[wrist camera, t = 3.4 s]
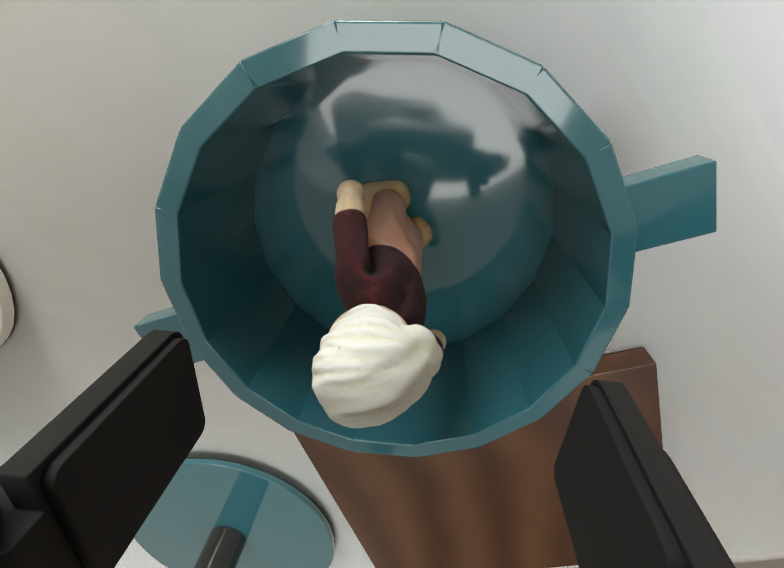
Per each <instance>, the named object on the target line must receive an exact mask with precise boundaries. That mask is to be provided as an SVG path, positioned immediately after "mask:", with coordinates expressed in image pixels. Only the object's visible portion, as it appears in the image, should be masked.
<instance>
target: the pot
mask: <svg viewBox="0 0 784 568" xmlns="http://www.w3.org/2000/svg"><path fill="white" fill-rule="evenodd" d="M346 180H355V181H358V182H359V183H361V184H364V183H367V182H374V181H385V180H400V181H402V182H403V183H405V184H406V185H407V187H408V189H409V192H410V197H411V200H410V204H409V206H408V207H407V208H406V213H407V215H408V216H409V217H410V218H414V217H420V218H423V219H425V220H426V221H427V222H428V224H429V225H430V226H431V228H432V231H433V238H432V240H431V242H430V243H429V244H428V245H426V246H425V247H424V248H423V254H422V269H421V278H422V282H423V285H424V289H425V295H426V298H427V309H426V319H425V323H424V326H425V327H426V328H428V329H429V330H430V329H436V330H439V331H441V332H442V333H443V334H444V336H445V338H446V346H445V348H444V356H443V360H442V362H441V366H440V369H439V371H438V372H437V373H436V374H435V375H434V376H433V377H432V380H431V383H430V384H429V387H428V389H427V390H426V391H425V393H424V394H423V395H422V397H421V398H420V399H419V400H418V401H416V402H415V403H414V404H412V405H411V406H410V407H409V408H408V409H407V410H406V411H405V412H403V413H401V414H400V415H398V416H397V417H396V418H394V419H393V420H391V421H389V422H387V423H384V424H382V425H379V426H372V427H365V428H349V427H345V426H342V425H340V424H338V423H336V422H334V421H333V420H331V419H330V418H329V417H328V415H327V413H326V412H325V410H324V408H323V407H322V405H321V404H320V403H319V401H318V399H317V397H316V395H315V393H314V390H313V388H312V379H313V375H312V363H313V358H314V356H315V355H316V354H318V352H319V350H320V342H321V339H322V337H323V336H325V335H327V334H328V333H329V331H330V329H331V327H332V325H333V324H334V322H335V321H336V320H337V319H338V318H339V317H340V316H341V315H342V314H344V313H345V312H346V309H345V307H344V305H343V303H342V301H341V299H340V297H339V295H338V292H337V289H336V282H335V245H334V238H333V230H332V224H333V218H334V216H335V208H336V203H337V201H338V199H337V189H338V187H339V186H340V184H341V183H342V182H344V181H346ZM155 217H156V228H157V240H158V252H159V263H160V275H161V281H162V284H163V286H164V288H165V290H166V292H167V295H168V297H169V299H170V301H171V303H172V306H173V307H172V308H169V309H165V310H162V311H159V312H155V313H152V314H148V315H147V316H145V317H144V318H143V319H142V320H141V321H140V322H138V323H137V324H136V325H135V326H134V328H135V330H136V331H137V332H138V334H139V335H140V337H141V338H144V337H145V336H146V335H147V334H148V333H149V332H151V331H152V330H155V329H158V330H167V331H175V332H180V333H181V334H182V335H183V338H184V339H187V340H188V341H189V344H190V349H191V354H192V359H193V363H194V362H198V361H202V360H204V361H205V362H206V363H207V364H208V365H209V366H210V367H211V369H212V370H213V371H214V372H215V373H216V374H217V375H218V376H219V378H220V379H221V380H222V381H223V382H224V383H225V384H226V385H227V386H228V388H229V389H230V390H231V391H232V392H233V393H234V394H235V395H236V396H237V397H238V398H240V399H241V400H243V401H244V402H246V403H248V404H249V405H251V406H252V407H254V408H255V409H257V410H258V411H260V412H262V413H263V414H265V415H266V416H268V417H269V418H271V419H272V420H274V421H275V422H277V423H279V424H280V425H282V426H283V427H285V428H286V429H288V430H289V431H292V432H295V433H298V434H301V435H304V436H306V437H309V438H312V439H315V440H318V441H321V442H324V443H327V444H330V445H333V446H336V447H339V448H342V449H345V450H348V451H353V452H360V453H372V454H384V455H396V456H407V457H422V456H428V455H434V454H440V453H447V452H453V451H459V450H465V449H471V448H477V447H480V446H483V445H485V444H487V443H489V442H492V441H494V440H496V439H498V438H500V437H503V436H505V435H507V434H509V433H511V432H514V431H516V430H518V429H520V428H522V427H524V426H527V425H529V424H531V423H533V422H535V421H538V420H540V418H542V417H544V416H545V415H546V414H547V413H548V412H549V411H550V410H552V409H553V408H554V407H555V406H556V405H557V404H558V403H559V402H561V401H562V400H563V399H564V398H565V397H566V396H567V395H568V394H569V393H571V392H572V391H573V390H574V389H575V388H576V387H577V386H578V385H580V384H581V383H582V382H583V381H584V380H585V379H586V378H587V377H589V376H590V375H591V374H592V372H593V371H594V370H595V368H596V366H597V364H598V363H599V361H600V359H601V357H602V355H603V353H604V352H605V350H606V348H607V346H608V344H609V343H610V341H611V339H612V337H613V335H614V333H615V332H616V330H617V328H618V326H619V324H620V323H621V321H622V319H623V317H624V315H625V313H626V312H627V308H629V302H630V294H631V285H632V277H633V268H634V259H635V252H637V251H641V250H645V249H649V248H653V247H657V246H661V245H665V244H669V243H673V242H677V241H681V240H685V239H689V238H693V237H697V236H701V235H705V234H709V233H713V232H716V161H715V160H712V159H709V158H706V157H703V156H700V155H696V156H693V157H690V158H686V159H683V160H679V161H676V162H672V163H669V164H665V165H662V166H659V167H655V168H652V169H648V170H645V171H641V172H638V173H634V174H631V175H628V176H624V177H622V175H621V172H620V169H619V165H618V162H617V159H616V156H615V153H614V149H613V146H612V144H611V143H610V140H609V139H608V137H607V136H606V135H605V134H604V133H603V132H602V131H601V130H600V128H599V127H598V126H597V125H596V124H595V123H594V122H593V121H592V120H591V118H590V117H589V116H588V115H587V114H586V113H585V112H584V111H583V109H582V108H581V107H580V106H579V105H578V104H577V103H576V102H575V100H574V99H573V98H572V97H571V96H570V95H569V94H568V93H567V92H566V90H565V89H564V88H563V87H562V86H561V85H560V84H559V83H558V81H557V80H556V79H555V78H554V77H553V76H552V75H551V74H550V72H549V71H548V70H547V69H546V68H544V67H543V66H542V65H541V64H539V63H536V62H534V61H532V60H530V59H527V58H525V57H523V56H521V55H519V54H516V53H514V52H512V51H510V50H507V49H505V48H503V47H501V46H499V45H496V44H494V43H492V42H490V41H488V40H485V39H483V38H481V37H479V36H476V35H474V34H472V33H470V32H468V31H465V30H463V29H461V28H459V27H456V26H454V25H452V24H450V23H448V22H444V23H443V22H442V21H393V20H337V21H330V22H328V23H326V24H324V25H321V26H319V27H317V28H314V29H312V30H310V31H307V32H305V33H303V34H300V35H298V36H296V37H294V38H291V39H289V40H287V41H284V42H282V43H280V44H277V45H275V46H273V47H271V48H268V49H266V50H264V51H261V52H259V53H257V54H254V55H252V56H250V57H248V58H245V59H243V60H242V61H241V62H239V63H238V64H237V65H236V67H235V68H234V69H233V70H232V71H231V72H230V73H229V74H228V76H227V77H226V78H225V79H224V80H223V81H222V82H221V83H220V84H219V86H218V87H217V88H216V89H215V90H214V91H213V92H212V93H211V94H210V96H209V97H208V98H207V99H206V100H205V101H204V102H203V103H202V105H201V106H200V107H199V108H198V109H197V110H196V111H195V112H194V113H193V115H192V116H191V117H190V118H189V119H188V120H187V121H186V122H185V123H184V125H183V126H182V127H181V130H180V131H179V134H178V137H177V140H176V143H175V146H174V149H173V153H172V156H171V159H170V162H169V165H168V168H167V171H166V175H165V178H164V181H163V184H162V187H161V190H160V194H159V197H158V200H157V203H156V207H155Z"/></svg>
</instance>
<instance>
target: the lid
mask: <svg viewBox="0 0 784 568" xmlns="http://www.w3.org/2000/svg"><path fill="white" fill-rule="evenodd" d="M134 538H135V539H136V541H137V542H138V543H139V544H140V545H141V546H142V548H143V549H145V550H146V551H147V552H148V553H149V554H150V555H151V556H152V557H154V558H155V559H156V560H157V561H159V562H160V563H162V564H163V565H165V566H166V567H168V568H329V566H330V564H331V561H332V559H333V554H334V546H335V544H334V536H333V533H332V530H331V527H330V525H329V523H328V521H327V519H326V518H325V516H324V515H323V514H322V512H321V511H320V510H319V508H318V507H317V506H316V505H315V504H314V503H313V502H312V501H311V500H310V499H308V498H307V497H306V496H305V495H304V494H302V493H301V492H300V491H298V490H297V489H295V488H294V487H292V486H291V485H289V484H288V483H286V482H284V481H282V480H280V479H278V478H277V477H274V476H272V475H270V474H268V473H265V472H263V471H260V470H258V469H255V468H252V467H249V466H245V465H241V464H237V463H233V462H228V461H222V460H215V459H185V460H184V462H183V463H182V465H181V466H180V468H179V469H178V471H177V473H176V474H175V476H174V477H173V479H172V480H171V482H170V483H169V485H168V486H167V488H166V489H165V491H164V492H163V494H162V496H161V497H160V499H159V500H158V502H157V503H156V505H155V506H154V508H153V509H152V511H151V512H150V514H149V515H148V517H147V518H146V520H145V522H144V523H143V525H142V526H141V528H140V529H139V531H138V532H137V534H136V535H135V537H134Z"/></svg>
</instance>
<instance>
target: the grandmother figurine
mask: <svg viewBox="0 0 784 568" xmlns="http://www.w3.org/2000/svg"><path fill="white" fill-rule="evenodd" d="M337 199H338V201H337V203H336V208H335V216H334V218H333V224H332V230H333V238H334V245H335V282H336V289H337V292H338V295H339V297H340V299H341V301H342V303H343V305H344V307H345V309H346V312H345V313H344V314H342V315H341V316H340V317H339V318H338V319H337V320H336V321H335V322H334V324H333V325H332V327H331V329H330V331H329V333H328V334H327V335H325V336H323V337H322V339H321V342H320V350H319V352H318V354H316V355H315V356H314V358H313V363H312V375H313V379H312V388H313V390H314V393H315V395H316V397H317V399H318V401H319V403H320V404H321V405H322V407H323V408H324V410H325V412H326V413H327V415H328V417H329V418H330V419H331V420H333V421H334V422H336V423H338V424H340V425H342V426H345V427H349V428H365V427H372V426H379V425H382V424H384V423H387V422H389V421H391V420H393V419H394V418H396V417H397V416H398V415H400V414H401V413H403V412H405V411H406V410H407V409H408V408H409V407H410V406H411V405H412V404H414V403H415V402H416V401H418V400H419V399H420V398H421V397H422V395H423V394H424V393H425V391H426V390H427V389H428V387H429V384H430V383H431V380H432V377H433V376H434V375H435V374H436V373H437V372H438V371H439V369H440V366H441V362H442V360H443V356H444V348H445V346H446V338H445V336H444V334H443V333H442V332H441V331H439V330H436V329H430V330H429V329H428V328H426V327H425V326H424V323H425V319H426V309H427V298H426V295H425V289H424V285H423V282H422V278H421V269H422V254H423V248H424V247H425V246H426V245H428V244H429V243H430V242H431V240H432V238H433V231H432V228H431V226H430V225H429V224H428V222H427V221H426V220H425V219H423V218H420V217H414V218H410V217H409V216H408V215H407V213H406V208H407V207H408V206H409V204H410V200H411V197H410V192H409V189H408V187H407V185H406V184H405V183H403V182H402V181H400V180H385V181H374V182H367V183H364V184H361V183H359V182H358V181H355V180H346V181H344V182H342V183H341V184H340V186H339V187H338V189H337Z"/></svg>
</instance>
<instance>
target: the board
mask: <svg viewBox="0 0 784 568" xmlns="http://www.w3.org/2000/svg"><path fill="white" fill-rule="evenodd" d="M593 380H605V381H613V382H621V383H623V384H624V385H625V386H626V388H627V389H628V391H629V393H630V394H631V396H632V398H633V400H634V401H635V403H636V405H637V406H638V408H639V410H640V412H641V413H642V415H643V417H644V418H645V420H646V422H647V423H648V425H649V427H650V429H651V430H652V432H653V434H654V435H655V437H656V439H657V441H658V442H659V444H660V446H661V447H662V449H663V445H662V433H661V420H660V407H659V394H658V381H657V369H656V363H655V361H654V360H653V359H652V357H651V356H650V355H649V353H648V352H647V351H646V349H645V348H638V349H633V350H628V351H623V352H618V353H613V354H608V355H603V356H602V357H601V359H600V361H599V363H598V364H597V366H596V368H595V370H594V371H593V372H592V374H591V375H590V376H589V377H587V378H586V379H585V380H584V381H583V382H582V383H581V384H580V385H578V386H577V387H576V388H575V389H574V390H573V391H572V392H571V393H569V394H568V395H567V396H566V397H565V398H564V399H563V400H562V401H561V402H559V403H558V404H557V405H556V406H555V407H554V408H553V409H552V410H550V411H549V412H548V413H547V414H546V415H545V416H544V417H542V418H540V420H538V421H535V422H533V423H531V424H529V425H527V426H524V427H522V428H520V429H518V430H516V431H514V432H511V433H509V434H507V435H505V436H503V437H500V438H498V439H496V440H494V441H492V442H489V443H487V444H485V445H483V446H480V447H477V448H471V449H465V450H459V451H453V452H447V453H440V454H434V455H428V456H422V457H407V456H396V455H384V454H372V453H360V452H353V451H348V450H345V449H342V448H339V447H336V446H333V445H330V444H327V443H324V442H321V441H318V440H315V439H312V438H309V437H306V436H304V435H301V434H298V433H295V432H294V433H295V435H296V437H297V438H298V440H299V442H300V443H301V445H302V447H303V448H304V450H305V452H306V453H307V455H308V457H309V458H310V460H311V461H312V463H313V465H314V466H315V468H316V470H317V471H318V473H319V475H320V476H321V478H322V480H323V481H324V483H325V485H326V486H327V488H328V490H329V491H330V493H331V495H332V496H333V498H334V500H335V501H336V503H337V505H338V506H339V508H340V510H341V511H342V513H343V515H344V516H345V518H346V520H347V521H348V523H349V525H350V526H351V528H352V530H353V531H354V533H355V535H356V536H357V538H358V540H359V541H360V543H361V545H362V546H363V548H364V549H365V551H366V553H367V554H368V556H369V558H370V559H371V561H372V563H373V564H374V566H375V568H551V567H561V566H572V565H578V562H577V558H576V555H575V551H574V548H573V544H572V540H571V537H570V533H569V530H568V526H567V523H566V519H565V515H564V512H563V508H562V505H561V501H560V497H559V494H558V490H557V487H556V483H555V479H554V465H555V461H556V459H557V456H558V453H559V450H560V448H561V445H562V442H563V439H564V437H565V434H566V431H567V429H568V426H569V423H570V420H571V418H572V415H573V412H574V409H575V407H576V404H577V401H578V398H579V396H580V393H581V390H582V388H583V386H584V385H590V384H591V382H592V381H593Z"/></svg>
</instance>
